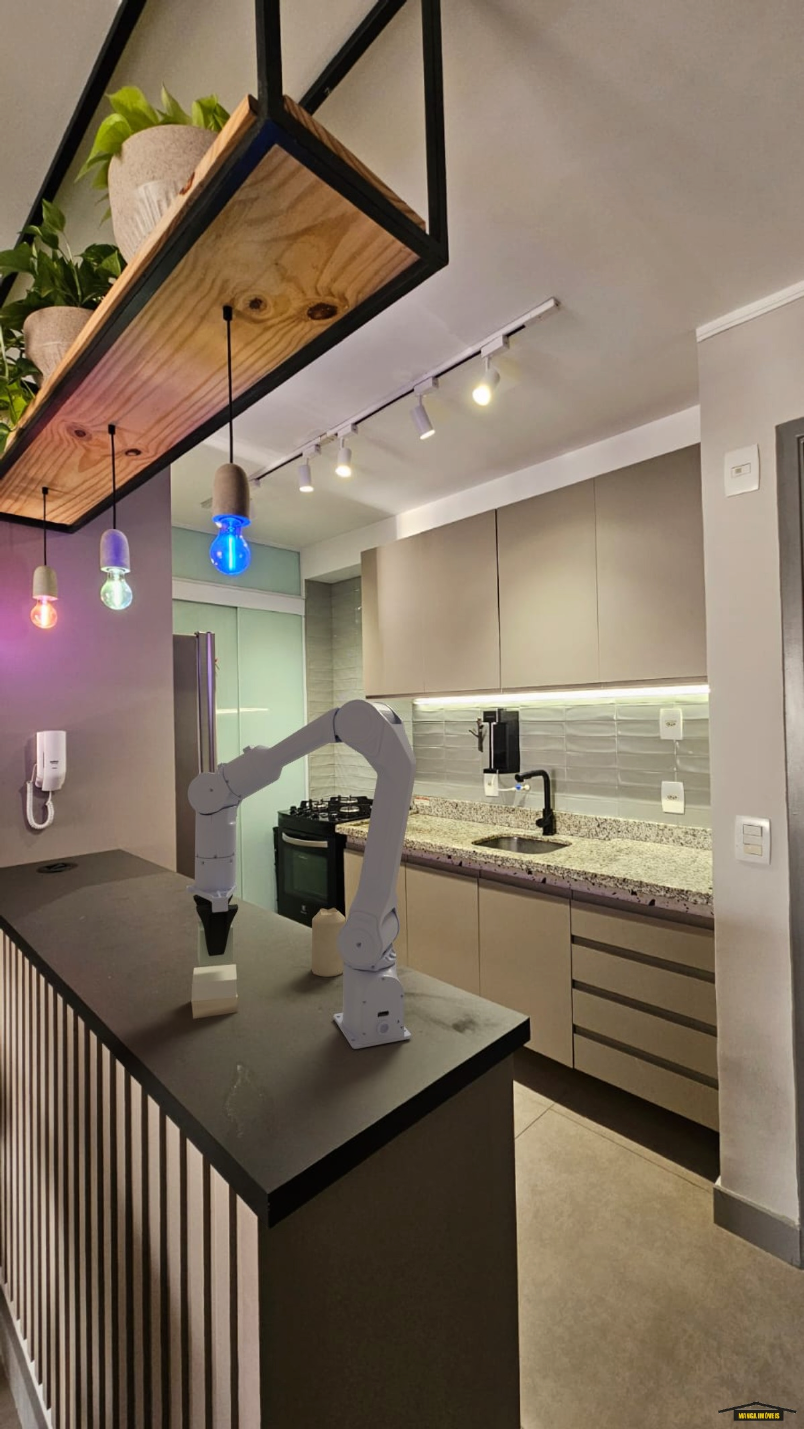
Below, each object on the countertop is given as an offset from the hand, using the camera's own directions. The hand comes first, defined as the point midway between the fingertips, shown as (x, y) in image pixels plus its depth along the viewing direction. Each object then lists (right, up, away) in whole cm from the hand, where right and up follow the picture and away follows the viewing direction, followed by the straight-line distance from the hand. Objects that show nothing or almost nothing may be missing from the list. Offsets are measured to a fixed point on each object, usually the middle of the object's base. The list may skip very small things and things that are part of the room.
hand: (214, 948), depth 92 cm
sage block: (0, -2, 0) cm, 2 cm away
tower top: (0, -6, 0) cm, 6 cm away
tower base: (0, -9, 0) cm, 9 cm away
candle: (+15, -9, +13) cm, 22 cm away
